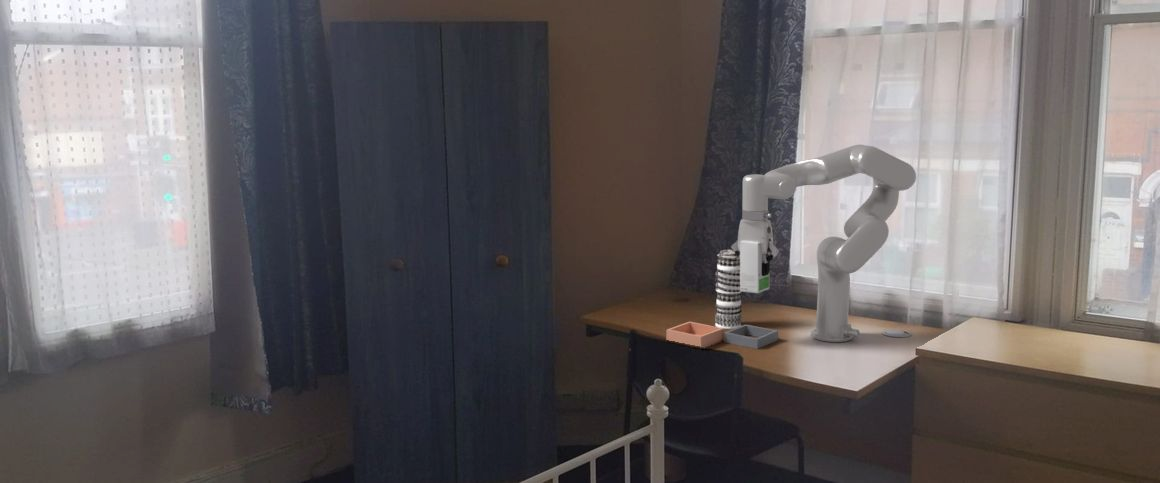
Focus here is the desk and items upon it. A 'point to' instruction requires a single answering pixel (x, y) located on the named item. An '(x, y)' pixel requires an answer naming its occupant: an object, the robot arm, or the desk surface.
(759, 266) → the skincare box
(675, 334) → the terracotta bin
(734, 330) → the frame
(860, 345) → the desk surface
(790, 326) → the desk surface
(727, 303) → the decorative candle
